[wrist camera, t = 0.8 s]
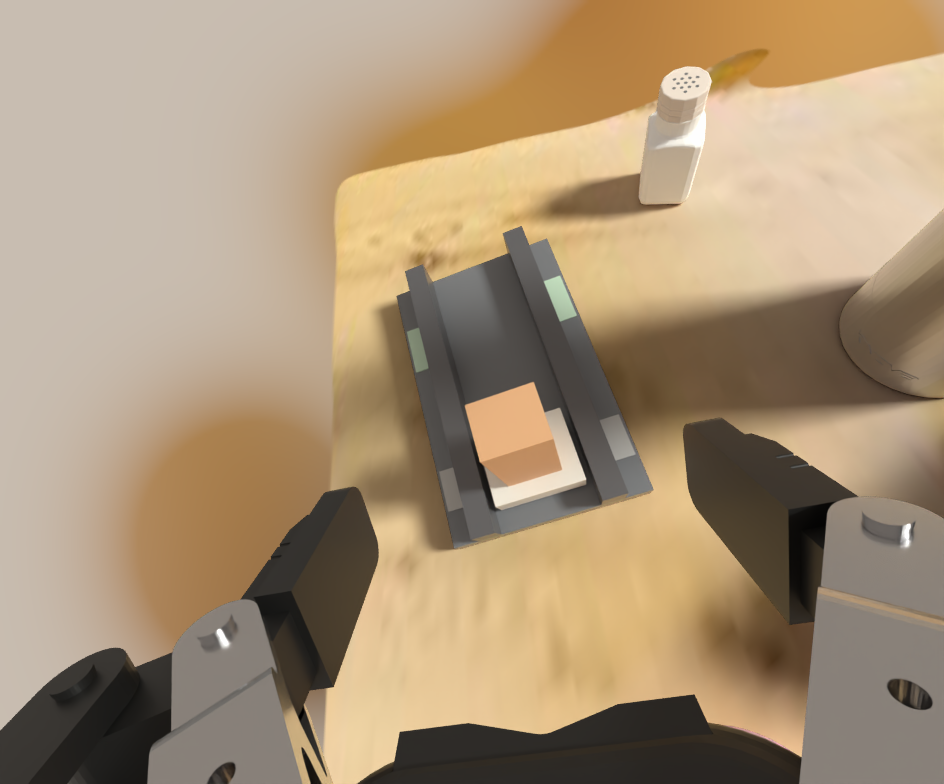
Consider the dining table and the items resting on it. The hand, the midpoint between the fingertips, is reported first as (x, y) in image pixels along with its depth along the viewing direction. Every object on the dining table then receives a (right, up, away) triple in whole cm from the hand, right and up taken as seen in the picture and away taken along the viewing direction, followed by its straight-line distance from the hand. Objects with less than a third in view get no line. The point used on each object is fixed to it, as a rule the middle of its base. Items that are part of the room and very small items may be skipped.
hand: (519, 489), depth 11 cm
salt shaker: (+16, +20, +28) cm, 38 cm away
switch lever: (+3, -3, +20) cm, 20 cm away
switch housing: (+2, +3, +25) cm, 25 cm away
